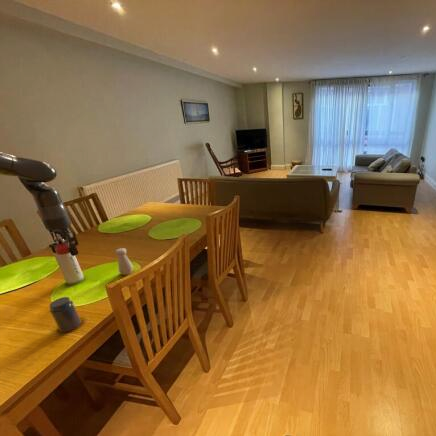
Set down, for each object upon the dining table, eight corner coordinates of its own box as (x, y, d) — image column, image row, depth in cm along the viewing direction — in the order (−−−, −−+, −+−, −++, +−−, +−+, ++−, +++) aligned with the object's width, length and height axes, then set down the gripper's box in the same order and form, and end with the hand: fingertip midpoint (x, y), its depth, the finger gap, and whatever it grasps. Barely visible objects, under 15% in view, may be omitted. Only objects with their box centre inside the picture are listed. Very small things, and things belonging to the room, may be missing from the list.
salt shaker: (137, 270, 119) (130, 247, 114) (127, 277, 114) (119, 253, 109) (127, 268, 120) (120, 245, 115) (117, 275, 115) (109, 251, 110)
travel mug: (65, 280, 111) (48, 242, 103) (83, 275, 115) (68, 238, 108) (66, 287, 107) (48, 248, 99) (84, 281, 111) (69, 242, 103)
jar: (69, 333, 84) (57, 309, 79) (55, 331, 84) (42, 307, 80) (85, 320, 89) (75, 296, 85) (71, 318, 90) (60, 295, 86)
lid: (65, 247, 99) (63, 241, 98) (81, 246, 100) (79, 241, 99) (52, 254, 93) (50, 249, 93) (69, 254, 94) (66, 249, 93)
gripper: (76, 214, 92) (91, 252, 98) (56, 209, 97) (71, 245, 103) (52, 221, 85) (69, 261, 92) (32, 215, 91) (49, 254, 97)
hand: (70, 253), depth 98 cm, fingers closed on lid, 6 cm apart
